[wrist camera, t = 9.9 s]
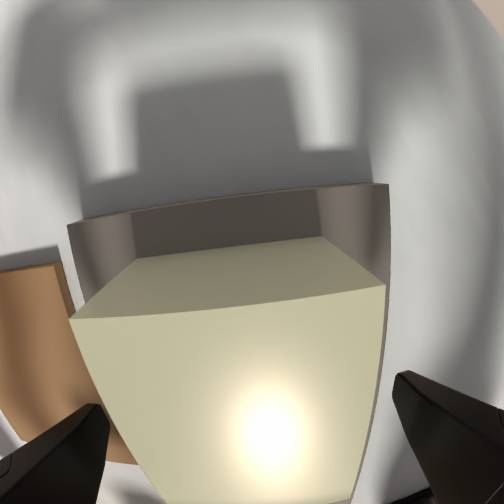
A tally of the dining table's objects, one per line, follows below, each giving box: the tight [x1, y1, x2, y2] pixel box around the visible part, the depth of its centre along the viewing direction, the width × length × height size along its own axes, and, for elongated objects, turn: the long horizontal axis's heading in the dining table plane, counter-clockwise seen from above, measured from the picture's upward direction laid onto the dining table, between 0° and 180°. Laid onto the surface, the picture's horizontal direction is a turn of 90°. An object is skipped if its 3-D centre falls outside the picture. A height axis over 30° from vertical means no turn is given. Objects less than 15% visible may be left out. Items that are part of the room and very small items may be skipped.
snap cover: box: [69, 236, 386, 504], centre depth 8 cm, size 6×8×4 cm
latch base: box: [67, 183, 391, 504], centre depth 12 cm, size 11×21×1 cm, turn 6°
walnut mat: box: [0, 262, 139, 465], centre depth 11 cm, size 10×12×1 cm
